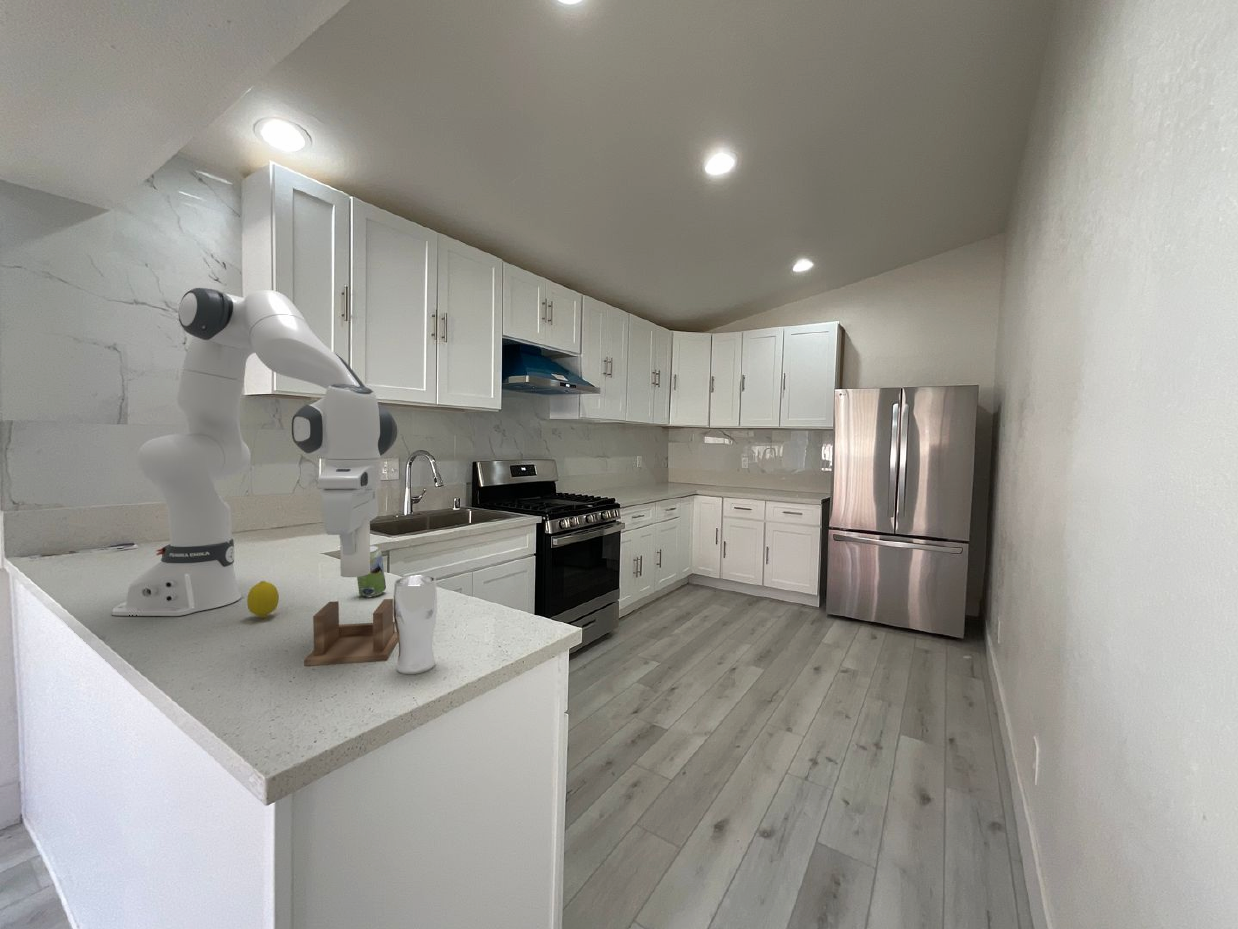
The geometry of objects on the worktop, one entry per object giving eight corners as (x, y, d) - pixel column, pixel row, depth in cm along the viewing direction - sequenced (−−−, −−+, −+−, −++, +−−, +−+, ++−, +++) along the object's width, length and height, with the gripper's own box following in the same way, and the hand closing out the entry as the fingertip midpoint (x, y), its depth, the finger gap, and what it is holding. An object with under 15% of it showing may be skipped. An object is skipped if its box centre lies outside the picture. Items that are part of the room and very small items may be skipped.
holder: (304, 665, 88) (303, 619, 87) (327, 640, 99) (326, 599, 98) (387, 660, 91) (386, 615, 90) (400, 636, 101) (400, 596, 101)
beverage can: (390, 591, 130) (390, 544, 129) (374, 600, 123) (373, 550, 122) (367, 590, 131) (366, 543, 130) (349, 599, 123) (348, 549, 123)
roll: (336, 577, 91) (336, 520, 91) (345, 570, 96) (344, 516, 95) (366, 576, 92) (365, 519, 91) (373, 569, 97) (372, 515, 96)
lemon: (246, 617, 111) (245, 580, 110) (277, 611, 114) (276, 576, 114) (249, 624, 106) (248, 586, 106) (280, 618, 110) (280, 581, 110)
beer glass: (402, 658, 91) (401, 574, 91) (442, 657, 92) (442, 574, 91) (387, 676, 84) (386, 586, 84) (430, 675, 85) (430, 585, 84)
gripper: (352, 470, 102) (353, 539, 103) (313, 479, 82) (315, 564, 83) (386, 470, 104) (387, 538, 104) (356, 479, 84) (357, 563, 84)
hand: (354, 550), depth 94 cm, fingers closed on roll, 5 cm apart
